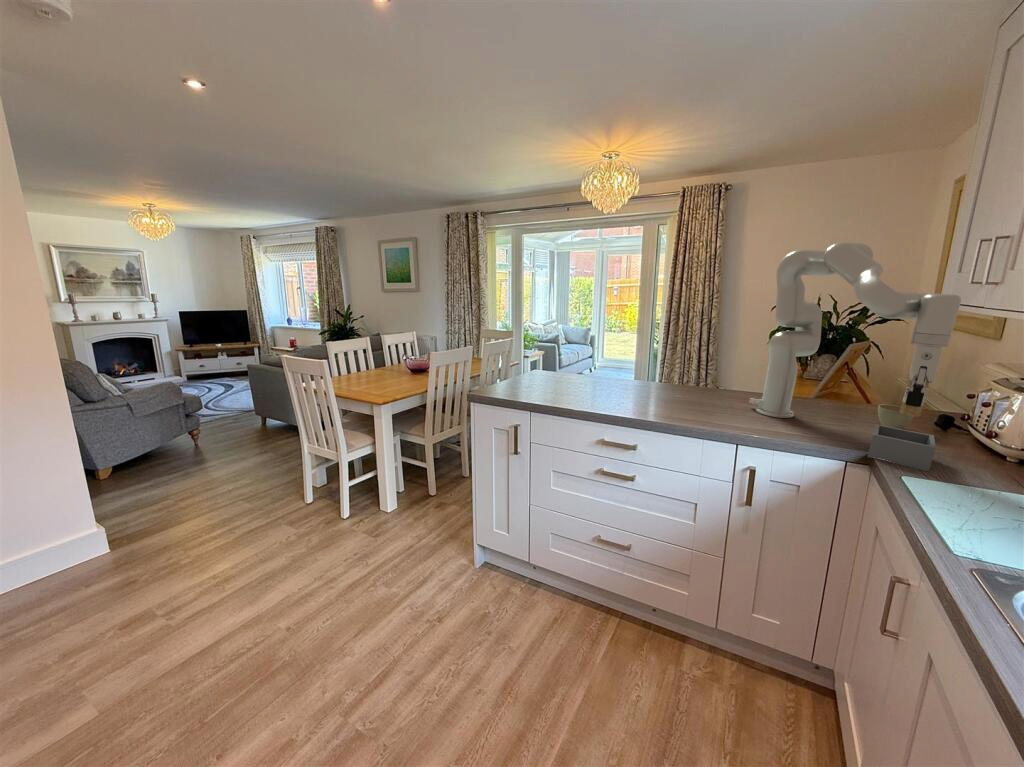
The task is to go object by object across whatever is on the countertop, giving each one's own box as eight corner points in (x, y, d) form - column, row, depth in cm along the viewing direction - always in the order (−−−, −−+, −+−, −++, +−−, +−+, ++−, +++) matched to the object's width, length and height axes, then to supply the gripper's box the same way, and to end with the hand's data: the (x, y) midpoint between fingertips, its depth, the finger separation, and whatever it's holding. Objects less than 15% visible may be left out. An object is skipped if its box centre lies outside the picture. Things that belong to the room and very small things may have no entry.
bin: (867, 457, 123) (873, 434, 121) (870, 445, 132) (875, 424, 130) (928, 471, 114) (935, 447, 113) (927, 457, 124) (933, 435, 122)
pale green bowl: (867, 424, 152) (871, 405, 150) (884, 421, 155) (889, 403, 153) (900, 434, 143) (905, 414, 141) (917, 431, 146) (923, 411, 144)
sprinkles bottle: (894, 412, 122) (906, 366, 118) (908, 412, 122) (921, 366, 119) (910, 417, 117) (923, 370, 114) (925, 417, 118) (938, 370, 114)
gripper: (951, 344, 106) (932, 413, 110) (947, 339, 118) (929, 401, 123) (911, 341, 111) (894, 407, 115) (911, 336, 123) (895, 395, 127)
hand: (912, 403), depth 119 cm, fingers closed on sprinkles bottle, 4 cm apart
